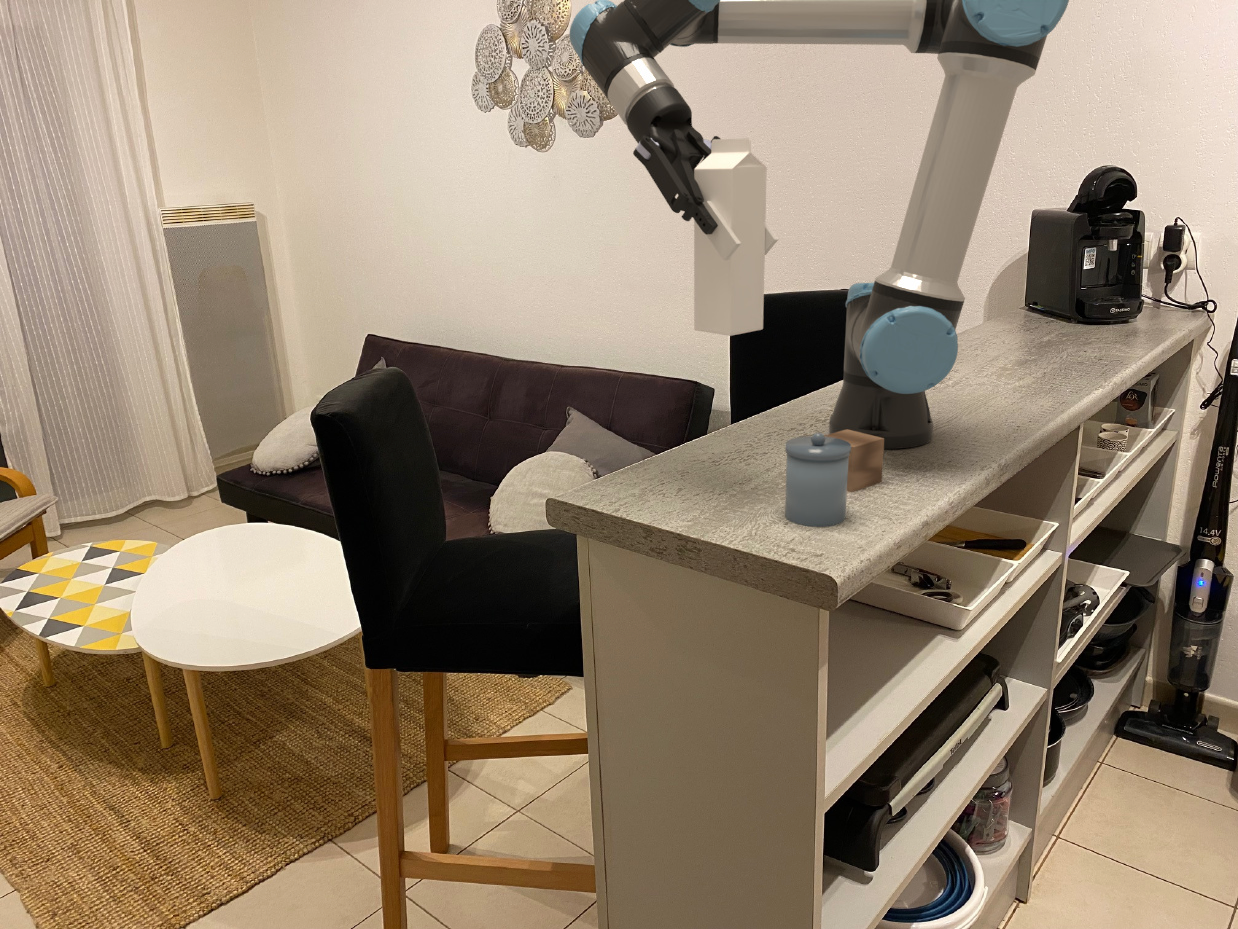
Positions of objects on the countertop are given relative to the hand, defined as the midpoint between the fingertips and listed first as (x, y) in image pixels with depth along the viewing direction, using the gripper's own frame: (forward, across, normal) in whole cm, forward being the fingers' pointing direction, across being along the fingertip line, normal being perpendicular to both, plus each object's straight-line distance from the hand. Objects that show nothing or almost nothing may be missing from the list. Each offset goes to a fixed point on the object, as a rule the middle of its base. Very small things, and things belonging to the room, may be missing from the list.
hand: (751, 249), depth 110 cm
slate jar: (+29, 0, -14) cm, 32 cm away
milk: (+5, 0, -10) cm, 11 cm away
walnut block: (+25, -14, -18) cm, 34 cm away
